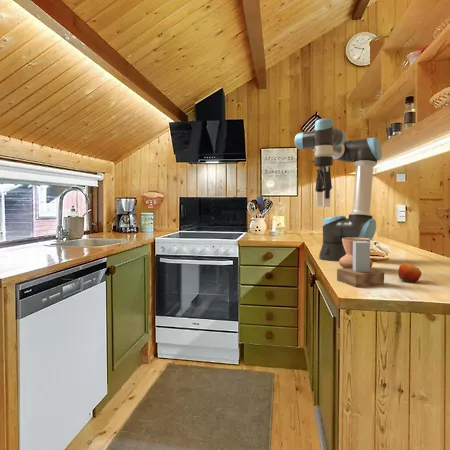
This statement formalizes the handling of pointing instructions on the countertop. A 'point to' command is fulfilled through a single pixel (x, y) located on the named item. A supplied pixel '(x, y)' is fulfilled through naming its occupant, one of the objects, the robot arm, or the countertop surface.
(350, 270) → the walnut slab
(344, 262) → the ceramic jug
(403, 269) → the fruit
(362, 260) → the pillar
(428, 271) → the countertop surface
